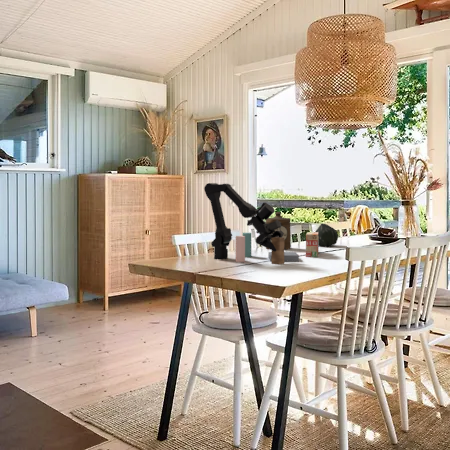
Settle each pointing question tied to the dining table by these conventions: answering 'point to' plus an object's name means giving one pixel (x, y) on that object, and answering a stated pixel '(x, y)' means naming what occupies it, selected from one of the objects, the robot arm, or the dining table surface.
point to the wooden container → (282, 228)
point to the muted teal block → (247, 244)
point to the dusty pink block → (240, 248)
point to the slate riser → (287, 256)
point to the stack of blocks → (312, 244)
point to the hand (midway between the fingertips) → (280, 250)
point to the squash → (327, 235)
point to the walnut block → (278, 250)
